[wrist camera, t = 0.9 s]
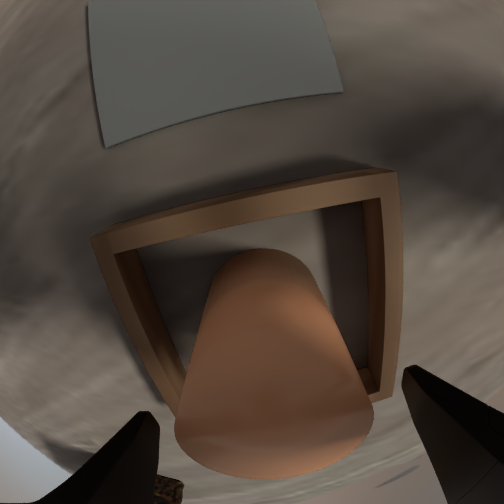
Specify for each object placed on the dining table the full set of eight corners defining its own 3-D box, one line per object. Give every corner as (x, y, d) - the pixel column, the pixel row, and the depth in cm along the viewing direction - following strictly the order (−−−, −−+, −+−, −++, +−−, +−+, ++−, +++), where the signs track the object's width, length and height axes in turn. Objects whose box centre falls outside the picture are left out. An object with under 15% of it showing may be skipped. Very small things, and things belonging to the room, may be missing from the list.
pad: (291, -48, 9) (292, -52, 8) (341, 93, 12) (343, 91, 12) (91, 4, 9) (88, 2, 9) (108, 148, 13) (105, 148, 12)
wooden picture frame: (374, 167, 13) (397, 171, 11) (380, 372, 18) (392, 396, 15) (112, 224, 14) (89, 238, 12) (190, 407, 19) (185, 432, 16)
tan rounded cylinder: (309, 237, 14) (380, 348, 6) (324, 356, 17) (362, 478, 8) (195, 261, 15) (139, 387, 6) (232, 374, 17) (225, 498, 9)
